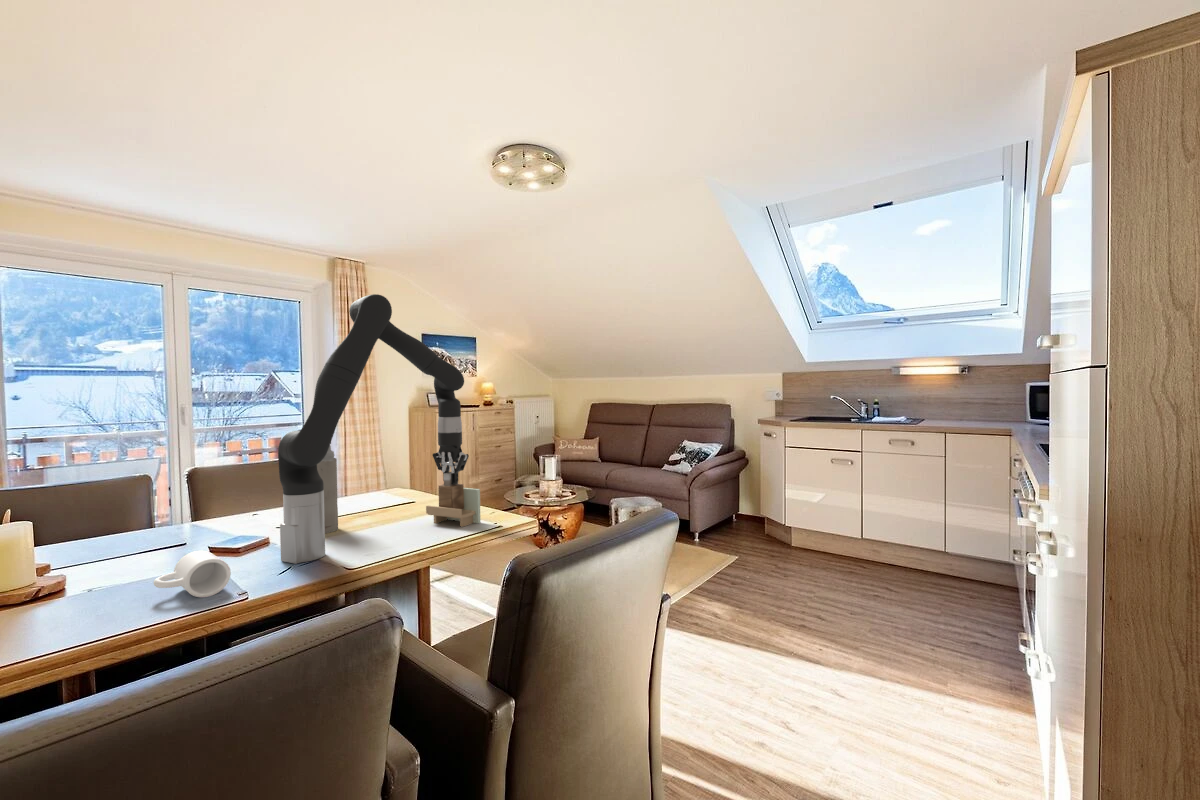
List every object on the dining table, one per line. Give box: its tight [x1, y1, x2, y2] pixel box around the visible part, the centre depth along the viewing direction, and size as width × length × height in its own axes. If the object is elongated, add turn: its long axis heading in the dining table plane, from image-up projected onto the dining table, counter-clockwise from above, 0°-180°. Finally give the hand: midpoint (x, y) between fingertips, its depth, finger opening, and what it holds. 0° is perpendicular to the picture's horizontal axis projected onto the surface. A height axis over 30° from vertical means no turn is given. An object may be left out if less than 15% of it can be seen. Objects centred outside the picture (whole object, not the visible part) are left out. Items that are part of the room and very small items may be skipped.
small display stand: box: [425, 487, 481, 527], centre depth 167 cm, size 9×16×11 cm, turn 65°
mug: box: [153, 550, 232, 598], centre depth 111 cm, size 12×10×8 cm
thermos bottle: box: [317, 442, 339, 534], centre depth 161 cm, size 8×8×28 cm
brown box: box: [438, 471, 465, 509], centre depth 167 cm, size 5×6×12 cm
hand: (451, 483), depth 167 cm, fingers closed on brown box, 2 cm apart
